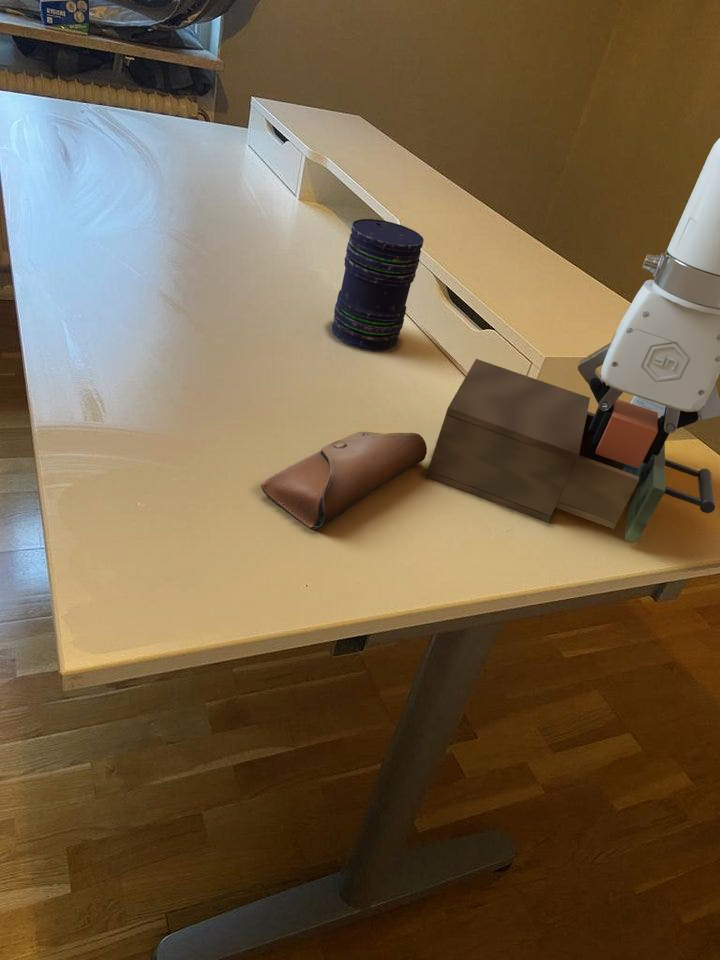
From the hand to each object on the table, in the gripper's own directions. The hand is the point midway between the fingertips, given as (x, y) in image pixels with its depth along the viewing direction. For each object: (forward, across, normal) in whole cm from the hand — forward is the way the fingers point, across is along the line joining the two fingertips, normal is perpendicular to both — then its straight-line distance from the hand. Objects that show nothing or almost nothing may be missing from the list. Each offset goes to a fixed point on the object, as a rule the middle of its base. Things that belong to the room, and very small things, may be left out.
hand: (620, 447), depth 77 cm
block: (+1, 0, 0) cm, 1 cm away
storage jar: (+7, -35, +22) cm, 42 cm away
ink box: (+8, +3, +11) cm, 14 cm away
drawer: (+7, +1, 0) cm, 7 cm away
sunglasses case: (+7, -25, -13) cm, 29 cm away
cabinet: (+7, -11, 0) cm, 13 cm away
